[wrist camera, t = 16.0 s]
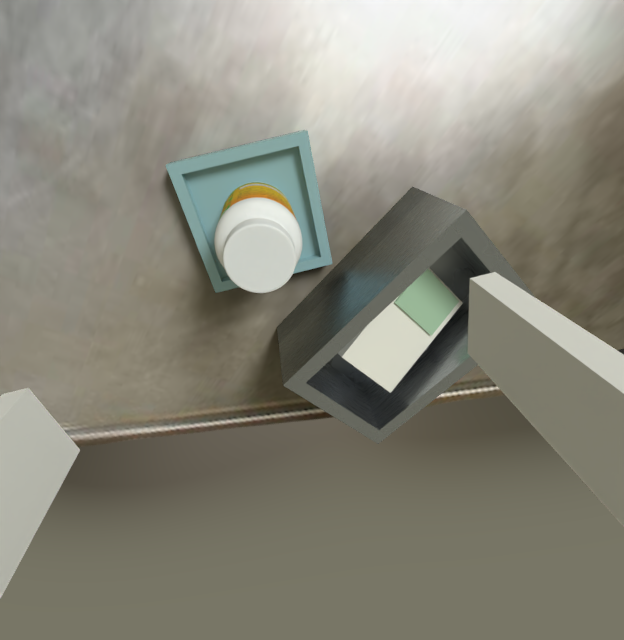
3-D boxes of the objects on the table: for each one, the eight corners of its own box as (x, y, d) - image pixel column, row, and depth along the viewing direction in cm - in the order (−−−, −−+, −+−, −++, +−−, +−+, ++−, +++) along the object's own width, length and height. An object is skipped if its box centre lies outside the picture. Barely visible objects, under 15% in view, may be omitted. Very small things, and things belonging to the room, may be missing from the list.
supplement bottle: (222, 177, 26) (206, 205, 17) (295, 184, 27) (314, 213, 18) (223, 248, 28) (209, 303, 20) (290, 252, 29) (304, 306, 21)
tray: (304, 129, 26) (307, 130, 24) (329, 257, 31) (332, 263, 29) (170, 162, 25) (165, 164, 24) (217, 285, 30) (215, 292, 29)
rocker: (404, 252, 28) (418, 255, 26) (451, 300, 31) (467, 306, 29) (329, 346, 28) (339, 355, 27) (383, 385, 31) (394, 396, 30)
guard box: (412, 186, 29) (466, 209, 21) (482, 268, 33) (545, 310, 26) (276, 327, 33) (283, 385, 26) (354, 381, 38) (377, 443, 31)
